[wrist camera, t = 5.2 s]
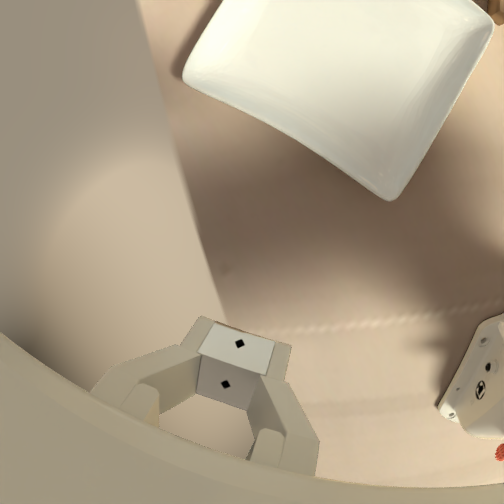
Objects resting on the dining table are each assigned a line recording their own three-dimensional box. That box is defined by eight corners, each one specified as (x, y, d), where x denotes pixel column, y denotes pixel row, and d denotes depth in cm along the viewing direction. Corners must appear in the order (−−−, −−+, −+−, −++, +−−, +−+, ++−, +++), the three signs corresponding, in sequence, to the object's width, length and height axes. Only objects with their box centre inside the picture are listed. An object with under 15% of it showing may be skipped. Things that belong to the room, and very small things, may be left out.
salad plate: (292, -75, 17) (286, -92, 14) (485, 29, 17) (500, 21, 14) (190, 84, 27) (173, 81, 24) (386, 198, 27) (393, 208, 24)
